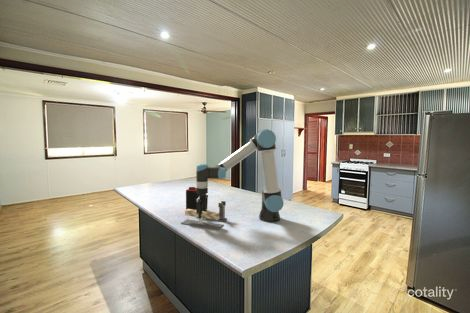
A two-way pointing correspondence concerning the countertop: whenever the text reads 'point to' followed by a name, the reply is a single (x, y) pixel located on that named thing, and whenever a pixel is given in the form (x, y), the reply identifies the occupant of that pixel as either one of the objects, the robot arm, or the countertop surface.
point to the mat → (202, 224)
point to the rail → (205, 214)
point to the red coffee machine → (191, 198)
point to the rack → (220, 212)
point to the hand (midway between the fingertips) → (202, 221)
